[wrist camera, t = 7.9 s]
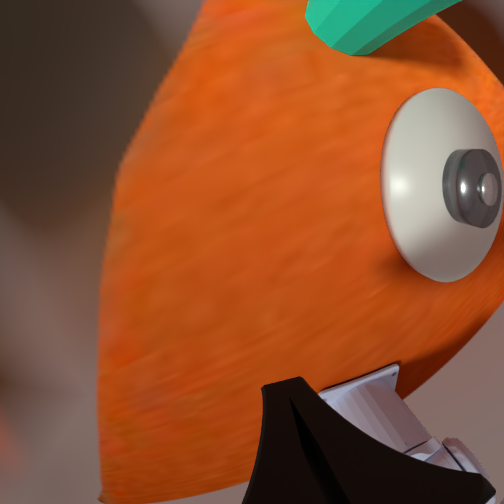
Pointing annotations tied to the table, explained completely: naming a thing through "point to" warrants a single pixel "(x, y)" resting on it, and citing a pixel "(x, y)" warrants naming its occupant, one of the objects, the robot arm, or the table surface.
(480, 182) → the cover
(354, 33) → the candle
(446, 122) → the cream flat disc
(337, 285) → the table surface
